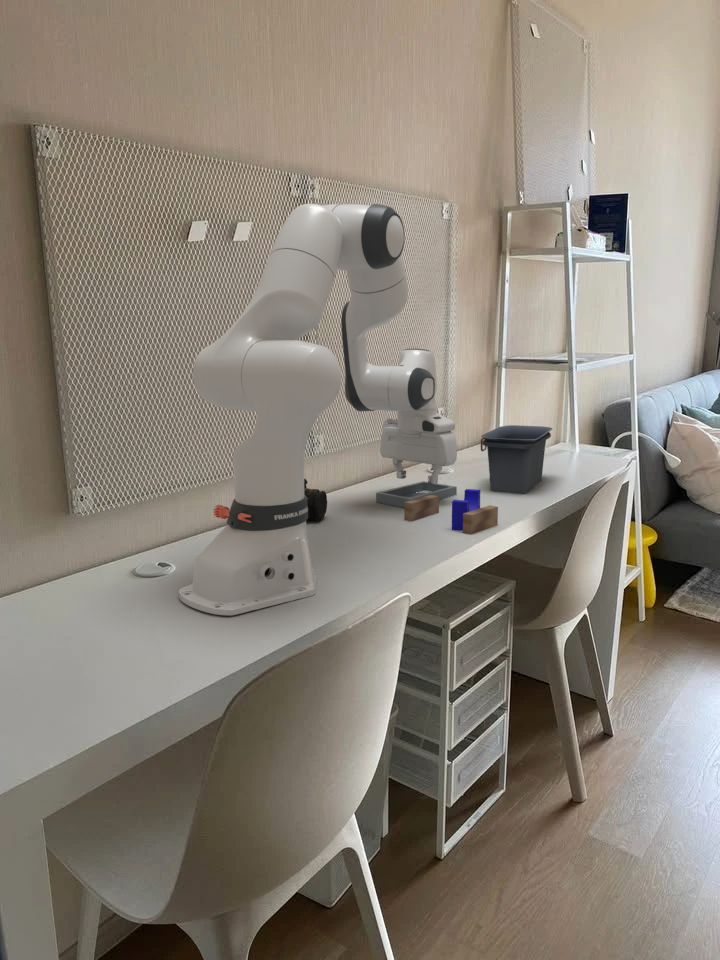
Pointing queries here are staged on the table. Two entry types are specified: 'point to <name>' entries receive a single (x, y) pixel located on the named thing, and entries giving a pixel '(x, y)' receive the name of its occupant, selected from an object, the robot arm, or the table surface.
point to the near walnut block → (480, 519)
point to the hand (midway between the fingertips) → (416, 480)
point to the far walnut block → (421, 507)
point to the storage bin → (515, 457)
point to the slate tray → (414, 493)
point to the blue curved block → (464, 507)
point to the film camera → (315, 503)
